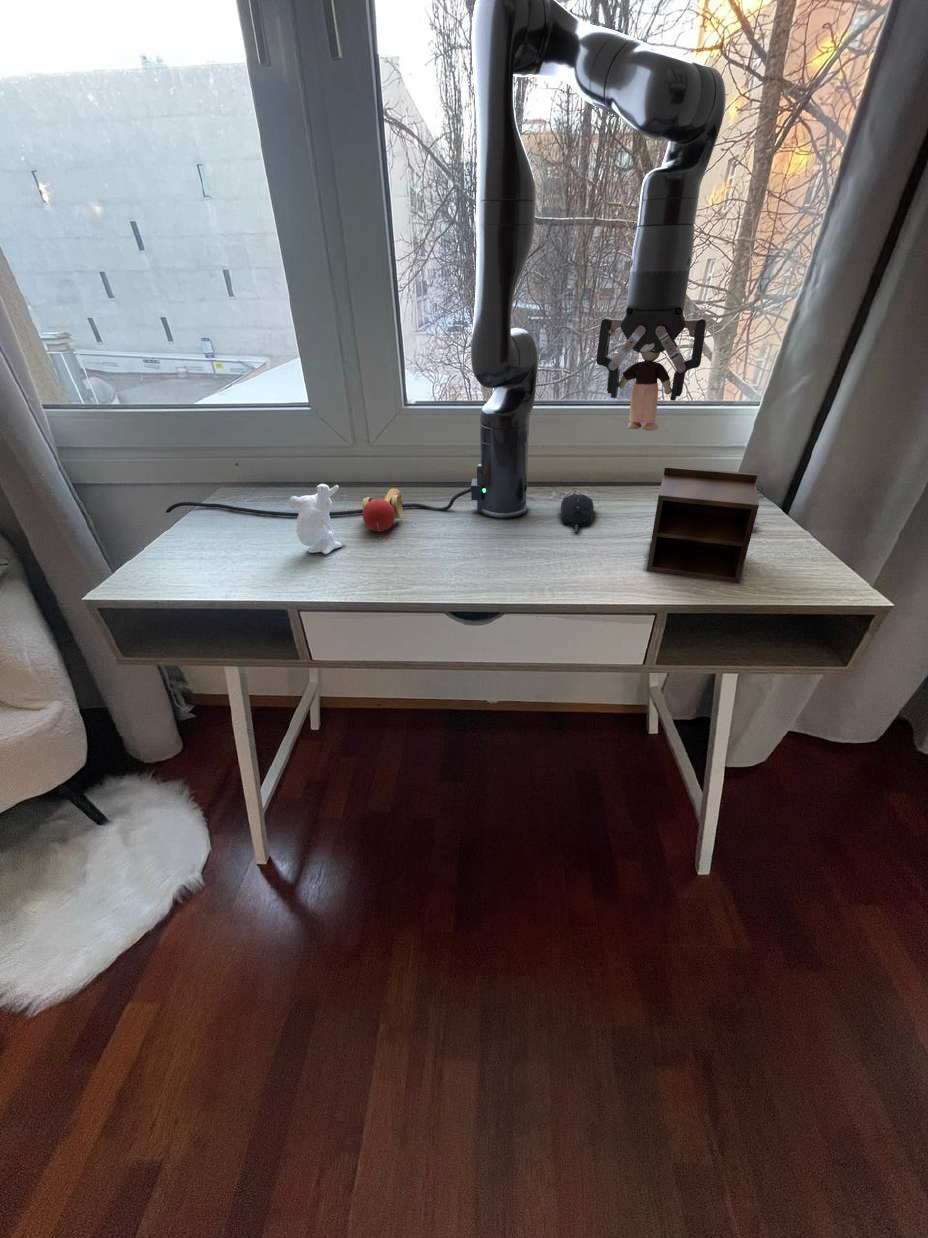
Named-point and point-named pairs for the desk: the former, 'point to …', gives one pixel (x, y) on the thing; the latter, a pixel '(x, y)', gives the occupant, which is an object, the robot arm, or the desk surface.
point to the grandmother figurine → (645, 389)
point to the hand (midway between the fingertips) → (642, 398)
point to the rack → (703, 523)
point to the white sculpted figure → (316, 520)
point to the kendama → (382, 510)
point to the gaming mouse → (577, 510)
